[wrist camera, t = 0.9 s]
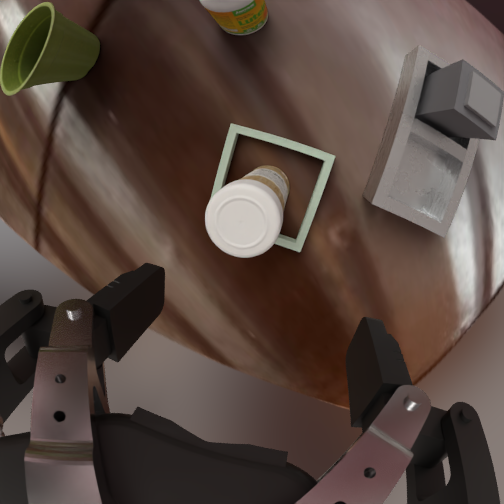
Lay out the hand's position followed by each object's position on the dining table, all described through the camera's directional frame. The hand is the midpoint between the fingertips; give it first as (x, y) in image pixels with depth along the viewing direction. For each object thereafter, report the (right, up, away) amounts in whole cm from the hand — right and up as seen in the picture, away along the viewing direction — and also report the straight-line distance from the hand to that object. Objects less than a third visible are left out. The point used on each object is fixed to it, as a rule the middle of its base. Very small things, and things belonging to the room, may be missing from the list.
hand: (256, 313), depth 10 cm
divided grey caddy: (+18, +14, +12) cm, 26 cm away
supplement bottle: (-1, +27, +11) cm, 29 cm away
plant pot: (-23, +29, +14) cm, 40 cm away
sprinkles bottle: (+2, +9, +18) cm, 20 cm away
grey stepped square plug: (+19, +18, +11) cm, 28 cm away
